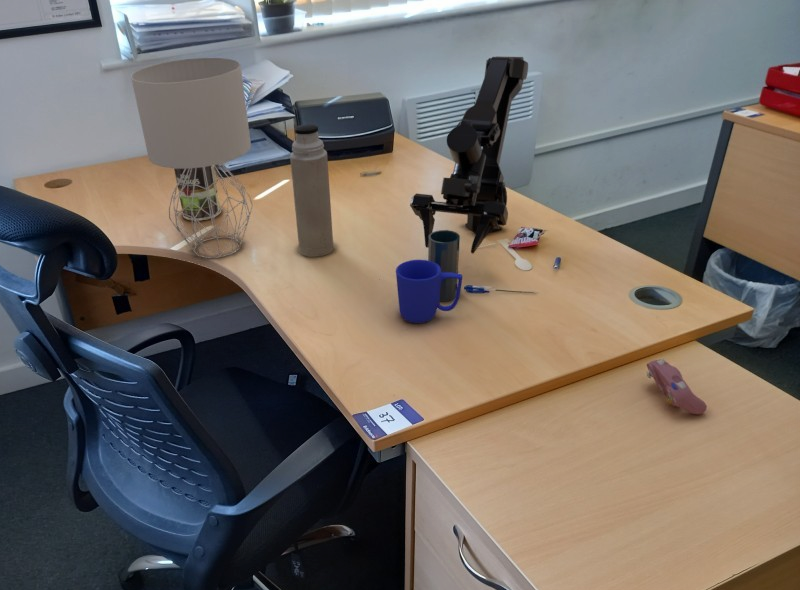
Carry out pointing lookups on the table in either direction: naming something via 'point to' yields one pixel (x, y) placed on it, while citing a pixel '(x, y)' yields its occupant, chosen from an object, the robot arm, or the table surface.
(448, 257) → the pencil cup
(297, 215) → the thermos bottle
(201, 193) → the coffee can
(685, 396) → the toy shoe
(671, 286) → the table surface
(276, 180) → the table surface
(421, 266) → the mug
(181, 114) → the table lamp
